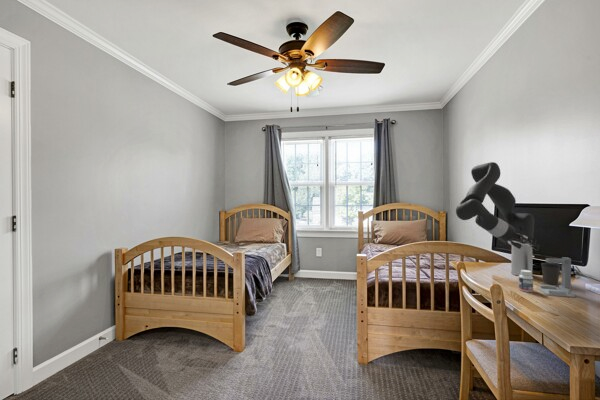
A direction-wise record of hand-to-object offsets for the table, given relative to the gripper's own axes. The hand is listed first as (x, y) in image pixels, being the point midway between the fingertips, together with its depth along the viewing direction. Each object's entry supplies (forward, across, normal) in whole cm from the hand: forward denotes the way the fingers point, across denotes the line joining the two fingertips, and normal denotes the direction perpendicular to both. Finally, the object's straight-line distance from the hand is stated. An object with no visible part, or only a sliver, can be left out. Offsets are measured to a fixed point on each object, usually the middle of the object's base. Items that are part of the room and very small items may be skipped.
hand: (528, 247), depth 133 cm
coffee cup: (+31, +14, +4) cm, 34 cm away
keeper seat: (+22, +2, +10) cm, 24 cm away
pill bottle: (+13, +7, +15) cm, 21 cm away
